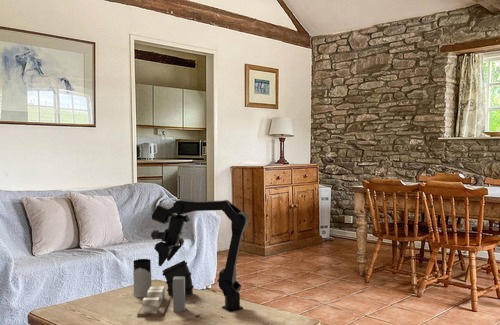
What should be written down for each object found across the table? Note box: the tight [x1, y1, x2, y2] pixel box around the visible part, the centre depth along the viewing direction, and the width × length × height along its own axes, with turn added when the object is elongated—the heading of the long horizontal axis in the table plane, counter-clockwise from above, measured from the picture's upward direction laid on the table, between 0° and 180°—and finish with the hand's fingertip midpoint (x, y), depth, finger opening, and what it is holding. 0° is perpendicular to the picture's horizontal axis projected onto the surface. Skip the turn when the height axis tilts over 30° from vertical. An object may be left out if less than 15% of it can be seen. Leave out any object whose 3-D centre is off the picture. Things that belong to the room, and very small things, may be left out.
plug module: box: [172, 276, 186, 313], centre depth 195 cm, size 4×4×13 cm
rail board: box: [136, 285, 171, 318], centre depth 198 cm, size 10×20×6 cm, turn 2°
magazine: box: [162, 260, 194, 296], centre depth 216 cm, size 4×13×15 cm, turn 80°
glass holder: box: [132, 258, 152, 298], centre depth 220 cm, size 9×14×15 cm, turn 178°
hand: (163, 263), depth 201 cm, fingers open, 9 cm apart
